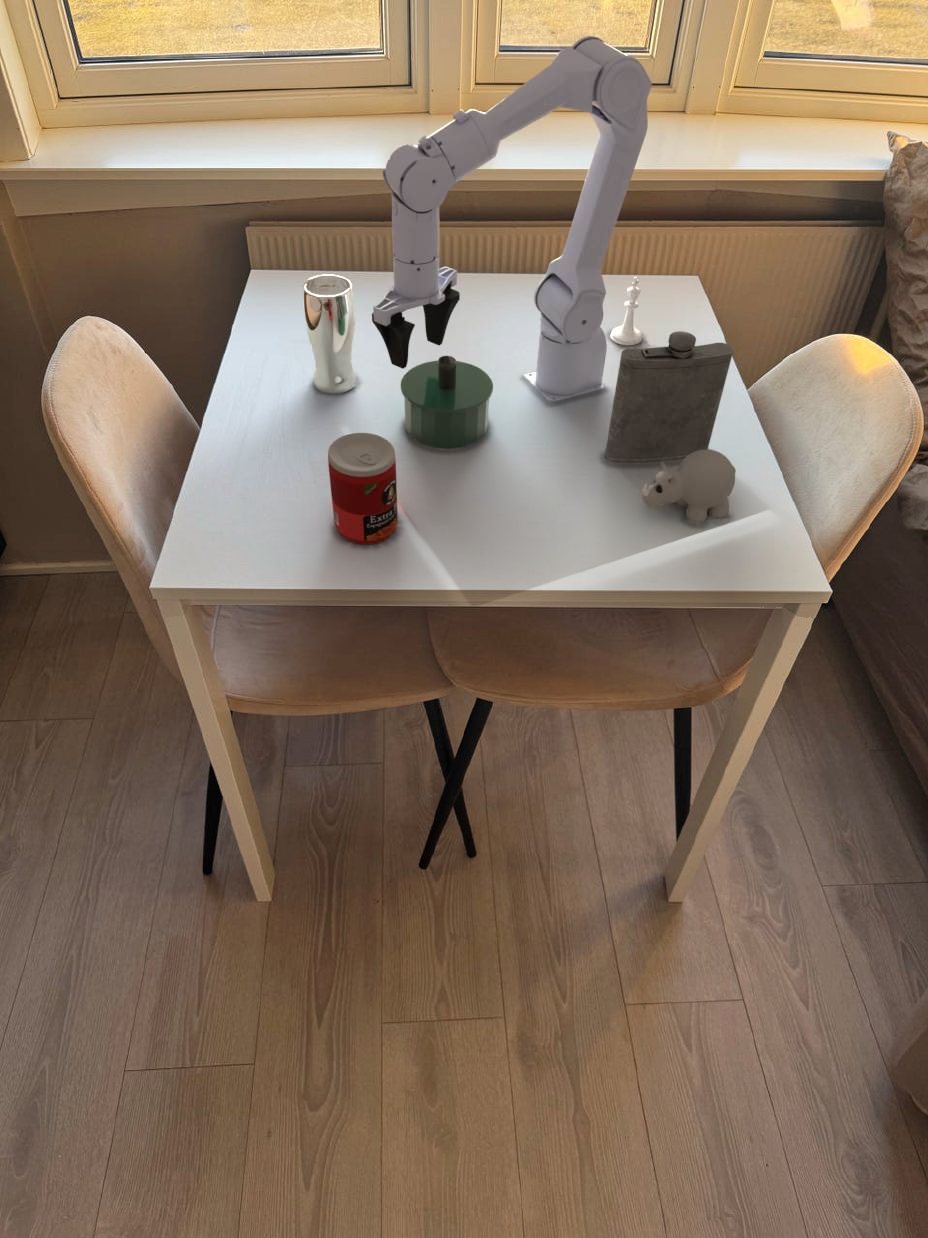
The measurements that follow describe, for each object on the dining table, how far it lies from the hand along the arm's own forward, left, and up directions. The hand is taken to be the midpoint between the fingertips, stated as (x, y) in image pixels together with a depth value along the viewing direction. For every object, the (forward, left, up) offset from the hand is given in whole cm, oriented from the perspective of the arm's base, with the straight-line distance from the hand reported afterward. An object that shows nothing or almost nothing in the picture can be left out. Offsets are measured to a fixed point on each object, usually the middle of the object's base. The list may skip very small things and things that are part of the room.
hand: (417, 353), depth 124 cm
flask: (-25, +22, -10) cm, 35 cm away
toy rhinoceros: (-21, +33, -10) cm, 41 cm away
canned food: (+16, +19, -10) cm, 27 cm away
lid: (-3, +4, -3) cm, 6 cm away
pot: (-2, +4, -10) cm, 11 cm away
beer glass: (+8, -13, -10) cm, 18 cm away
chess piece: (-39, -7, -10) cm, 41 cm away
